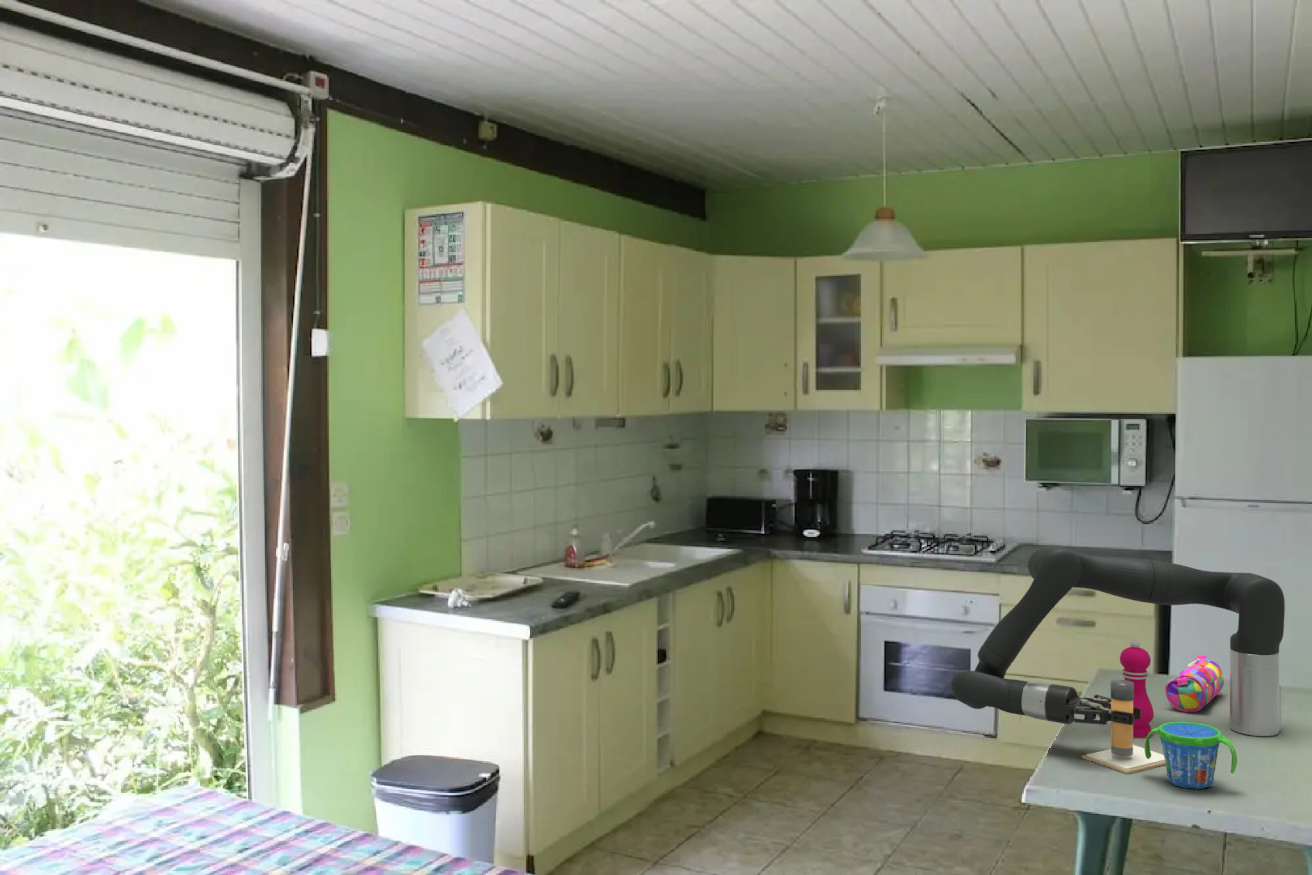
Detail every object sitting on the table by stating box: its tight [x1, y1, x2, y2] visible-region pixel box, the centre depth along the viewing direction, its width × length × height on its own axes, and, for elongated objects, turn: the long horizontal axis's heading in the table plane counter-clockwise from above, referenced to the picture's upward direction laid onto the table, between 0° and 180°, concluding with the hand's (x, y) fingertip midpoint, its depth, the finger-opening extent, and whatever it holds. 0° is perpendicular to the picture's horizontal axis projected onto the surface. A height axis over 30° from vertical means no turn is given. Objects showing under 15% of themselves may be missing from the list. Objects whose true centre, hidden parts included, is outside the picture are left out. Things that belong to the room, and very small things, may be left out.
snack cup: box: [1143, 721, 1238, 790], centre depth 208 cm, size 16×10×10 cm
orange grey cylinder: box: [1110, 679, 1134, 756], centre depth 220 cm, size 4×4×14 cm
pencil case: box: [1164, 655, 1225, 713], centre depth 260 cm, size 22×9×9 cm, turn 145°
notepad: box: [1081, 744, 1166, 775], centre depth 222 cm, size 14×11×1 cm
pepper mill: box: [1119, 639, 1155, 738], centre depth 238 cm, size 7×7×20 cm
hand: (1136, 716), depth 219 cm, fingers closed on orange grey cylinder, 4 cm apart
